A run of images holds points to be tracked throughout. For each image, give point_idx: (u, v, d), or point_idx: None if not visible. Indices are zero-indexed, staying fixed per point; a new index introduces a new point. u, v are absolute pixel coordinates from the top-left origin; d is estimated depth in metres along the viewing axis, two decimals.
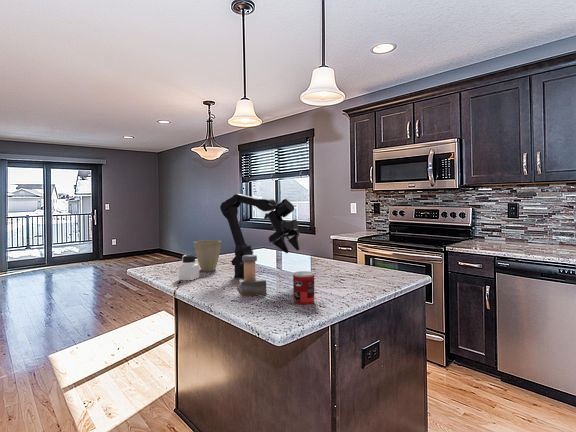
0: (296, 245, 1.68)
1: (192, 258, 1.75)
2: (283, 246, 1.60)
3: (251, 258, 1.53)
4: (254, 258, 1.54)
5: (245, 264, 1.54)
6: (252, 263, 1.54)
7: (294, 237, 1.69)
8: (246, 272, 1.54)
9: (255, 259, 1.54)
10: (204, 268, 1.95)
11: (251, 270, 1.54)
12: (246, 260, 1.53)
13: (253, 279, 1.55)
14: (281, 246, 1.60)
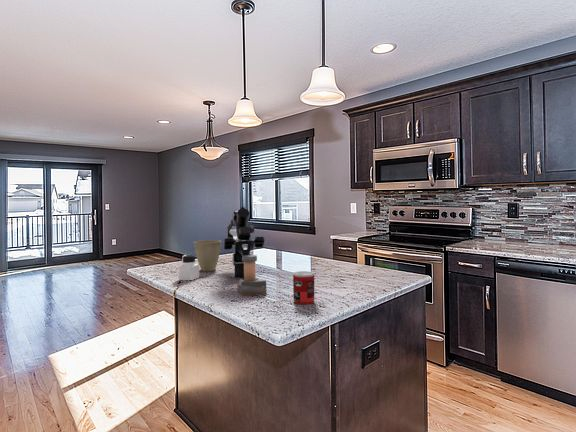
0: (247, 252, 1.66)
1: (192, 258, 1.75)
2: (241, 251, 1.66)
3: (251, 258, 1.53)
4: (254, 258, 1.54)
5: (245, 264, 1.54)
6: (252, 263, 1.54)
7: (247, 244, 1.68)
8: (246, 272, 1.54)
9: (255, 259, 1.54)
10: (204, 268, 1.95)
11: (251, 270, 1.54)
12: (246, 260, 1.53)
13: (253, 279, 1.55)
14: (240, 251, 1.67)
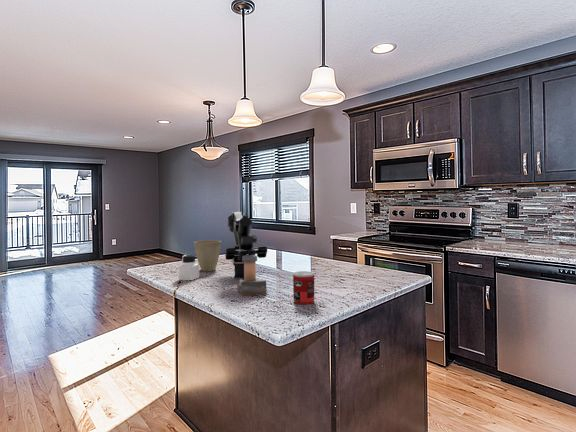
0: None
1: (192, 258, 1.75)
2: None
3: (251, 258, 1.53)
4: (254, 258, 1.53)
5: (245, 264, 1.54)
6: (252, 263, 1.54)
7: None
8: (246, 272, 1.54)
9: (255, 259, 1.54)
10: (204, 268, 1.95)
11: (251, 271, 1.54)
12: (246, 260, 1.53)
13: (253, 279, 1.54)
14: None
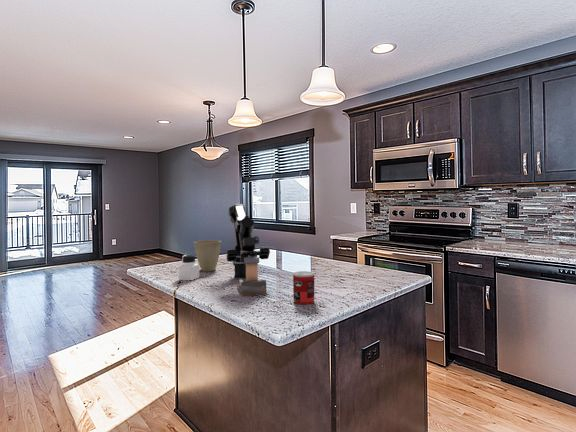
0: None
1: (192, 258, 1.75)
2: None
3: (253, 260, 1.48)
4: (256, 260, 1.49)
5: (247, 266, 1.49)
6: (254, 265, 1.49)
7: (250, 256, 1.57)
8: (248, 275, 1.49)
9: (257, 261, 1.49)
10: (204, 268, 1.95)
11: (253, 273, 1.49)
12: (248, 262, 1.48)
13: None
14: None
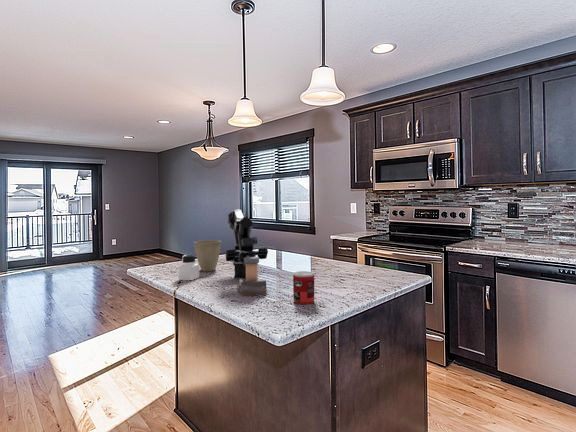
0: None
1: (192, 258, 1.75)
2: None
3: (253, 260, 1.48)
4: (256, 260, 1.49)
5: (247, 266, 1.49)
6: (254, 265, 1.49)
7: (249, 256, 1.61)
8: (248, 274, 1.49)
9: (257, 261, 1.50)
10: (204, 268, 1.95)
11: (253, 273, 1.49)
12: (248, 262, 1.48)
13: None
14: (244, 263, 1.60)
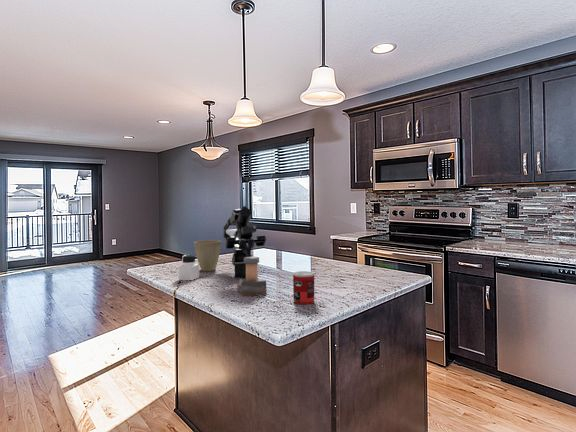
0: None
1: (192, 258, 1.75)
2: (245, 250, 1.67)
3: (253, 260, 1.48)
4: (256, 260, 1.49)
5: (247, 266, 1.49)
6: (254, 265, 1.49)
7: (248, 244, 1.69)
8: (248, 274, 1.49)
9: (257, 261, 1.50)
10: (204, 268, 1.95)
11: (253, 273, 1.49)
12: (248, 262, 1.48)
13: None
14: (244, 250, 1.68)
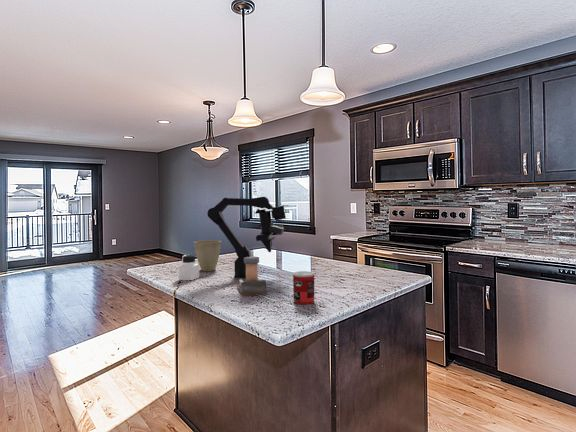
0: None
1: (192, 258, 1.75)
2: (268, 245, 1.79)
3: (253, 260, 1.48)
4: (256, 260, 1.49)
5: (247, 266, 1.49)
6: (254, 265, 1.49)
7: None
8: (248, 274, 1.49)
9: (257, 261, 1.50)
10: (204, 268, 1.95)
11: (253, 273, 1.49)
12: (248, 262, 1.48)
13: None
14: (267, 245, 1.80)
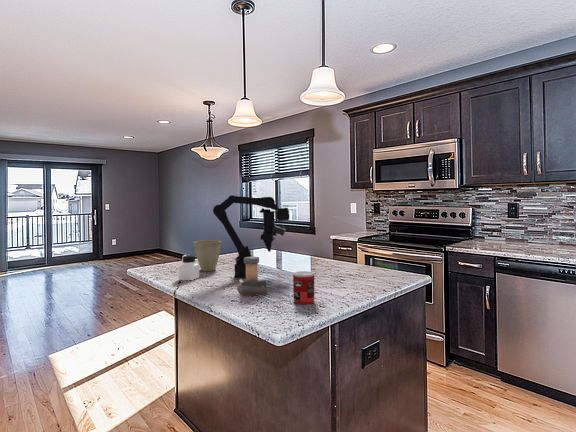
0: None
1: (192, 258, 1.75)
2: (269, 245, 1.82)
3: (253, 260, 1.48)
4: (256, 260, 1.49)
5: (247, 266, 1.49)
6: (254, 265, 1.49)
7: None
8: (248, 274, 1.49)
9: (257, 261, 1.50)
10: (204, 268, 1.95)
11: (253, 273, 1.49)
12: (248, 262, 1.48)
13: None
14: (267, 244, 1.82)
